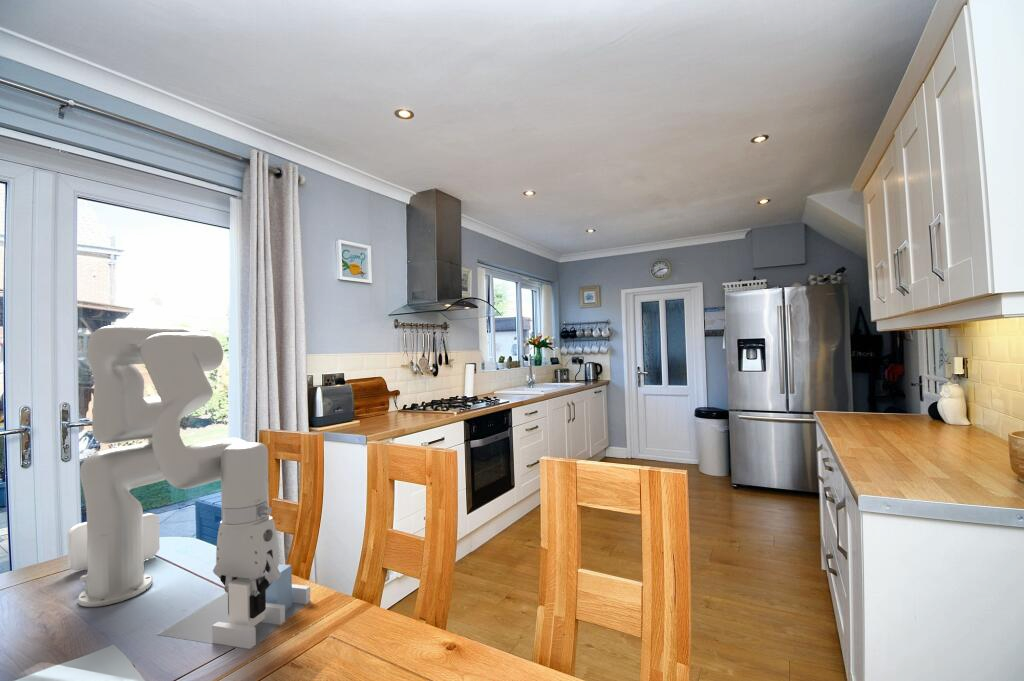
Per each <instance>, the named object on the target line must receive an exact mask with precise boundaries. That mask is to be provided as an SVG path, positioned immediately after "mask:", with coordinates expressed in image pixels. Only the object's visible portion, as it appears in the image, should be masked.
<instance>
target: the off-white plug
mask: <svg viewBox="0 0 1024 681" xmlns="http://www.w3.org/2000/svg"><path fill="white" fill-rule="evenodd" d="M260 583H261V581H260V579H258V584H260ZM251 595H253V594H252V589H251V583H250V579H247V578H239V577H238V578H237V579H235V580H233V581H232V582H230V583H229V623H230V624H237V625H244V626H251V627H254V626H255V625H257V624H258V623H259V622H261V621H262V620H263V619H265V611H263V612H262V613H261V614H259V615H258V616H256V617H255V618H250V596H251Z"/></svg>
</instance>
